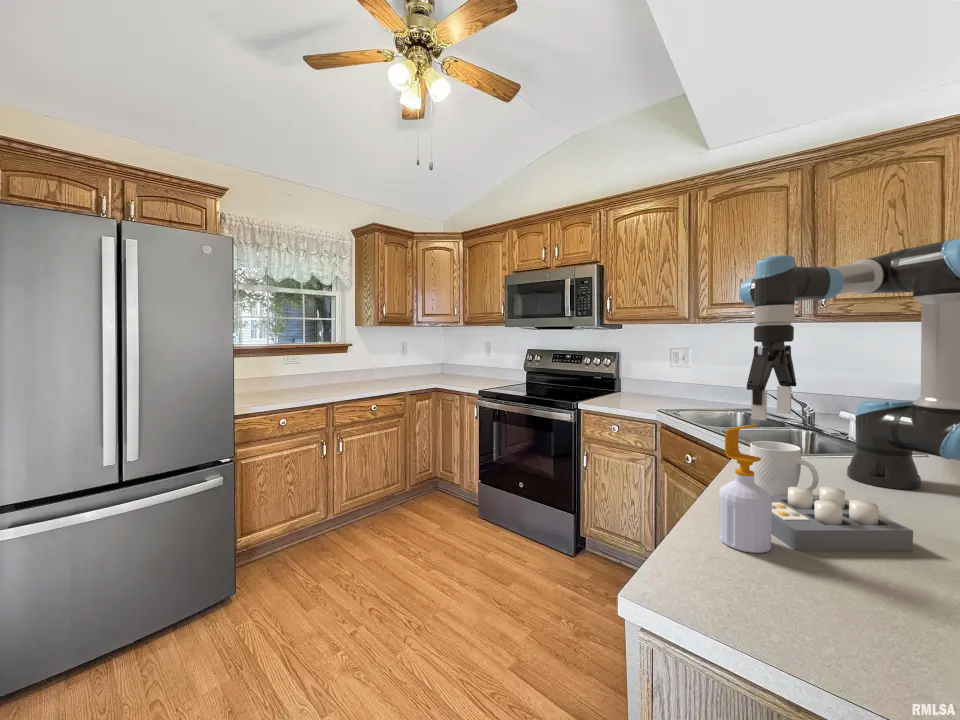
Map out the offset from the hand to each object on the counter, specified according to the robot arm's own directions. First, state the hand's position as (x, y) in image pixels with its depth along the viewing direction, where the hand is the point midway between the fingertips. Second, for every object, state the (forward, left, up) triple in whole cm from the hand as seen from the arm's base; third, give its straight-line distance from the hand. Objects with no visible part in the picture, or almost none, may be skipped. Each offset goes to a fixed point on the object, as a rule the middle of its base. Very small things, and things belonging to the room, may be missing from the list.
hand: (771, 416), depth 96 cm
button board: (-5, +7, -23) cm, 25 cm away
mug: (-10, -13, -24) cm, 29 cm away
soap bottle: (+14, +13, -24) cm, 30 cm away
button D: (-4, +11, -21) cm, 24 cm away
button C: (-4, +3, -21) cm, 21 cm away
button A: (-11, +3, -21) cm, 24 cm away
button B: (-11, +11, -21) cm, 26 cm away
